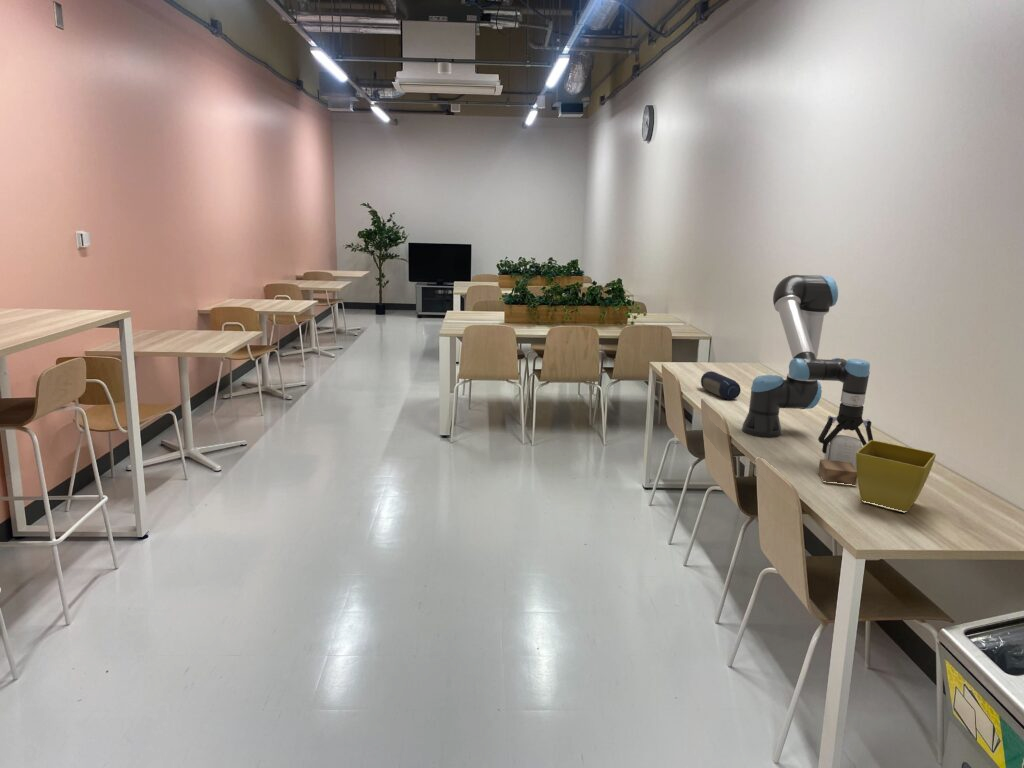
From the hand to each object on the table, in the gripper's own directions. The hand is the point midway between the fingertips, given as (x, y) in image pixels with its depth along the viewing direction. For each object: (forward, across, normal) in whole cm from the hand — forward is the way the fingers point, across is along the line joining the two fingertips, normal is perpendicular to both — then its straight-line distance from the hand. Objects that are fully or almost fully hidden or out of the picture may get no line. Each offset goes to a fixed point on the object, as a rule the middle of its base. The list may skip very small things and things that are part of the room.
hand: (842, 463), depth 254 cm
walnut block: (+2, -4, -12) cm, 13 cm away
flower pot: (+2, +8, -29) cm, 30 cm away
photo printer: (+2, 0, 0) cm, 2 cm away
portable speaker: (+2, -39, +96) cm, 103 cm away
